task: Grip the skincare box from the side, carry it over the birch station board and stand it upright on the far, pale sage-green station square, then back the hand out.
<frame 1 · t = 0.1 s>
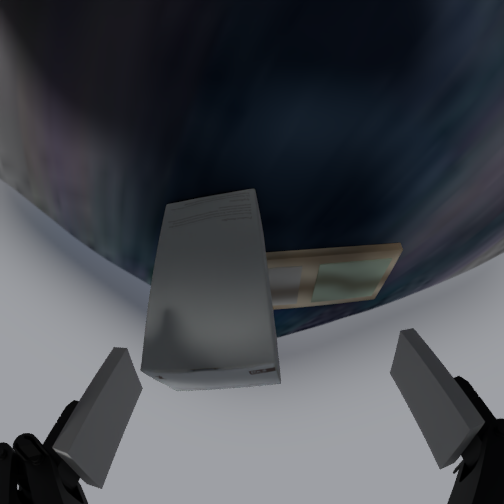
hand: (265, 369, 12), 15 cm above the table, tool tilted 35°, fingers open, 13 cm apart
skincare box: (218, 213, 26), on the table
station board: (305, 278, 35), on the table
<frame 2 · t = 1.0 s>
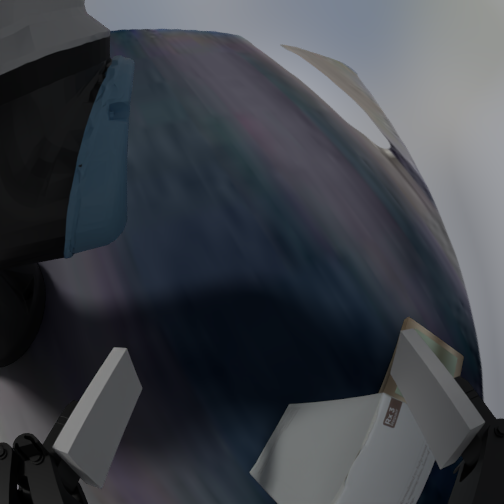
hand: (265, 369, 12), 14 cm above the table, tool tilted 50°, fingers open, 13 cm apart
skincare box: (293, 446, 21), on the table, touching gripper
station board: (412, 415, 24), on the table
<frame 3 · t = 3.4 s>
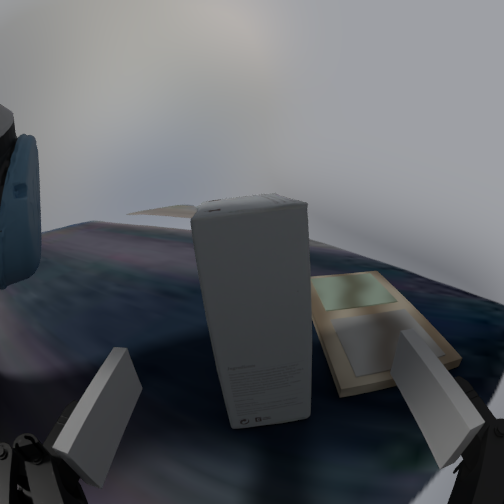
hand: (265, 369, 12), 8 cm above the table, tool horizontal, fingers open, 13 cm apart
skincare box: (261, 390, 21), on the table
station board: (365, 318, 29), on the table
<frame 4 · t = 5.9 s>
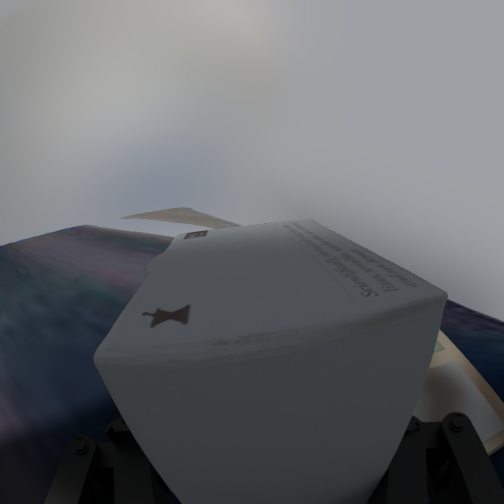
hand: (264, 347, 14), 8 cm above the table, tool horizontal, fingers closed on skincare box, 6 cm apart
skincare box: (273, 497, 11), on the table, touching gripper
station board: (407, 375, 20), on the table
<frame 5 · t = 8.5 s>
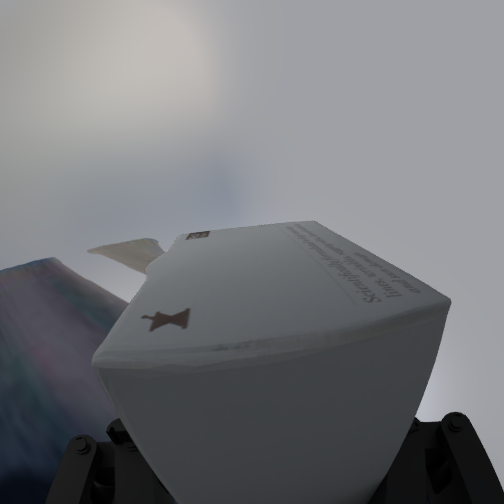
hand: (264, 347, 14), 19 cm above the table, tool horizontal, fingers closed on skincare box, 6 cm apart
skincare box: (272, 498, 11), point 11 cm above the table, touching gripper
when the fingers open (11 cm above the table, at t = 10.4 s): skincare box drops 1 cm, resting on station board.
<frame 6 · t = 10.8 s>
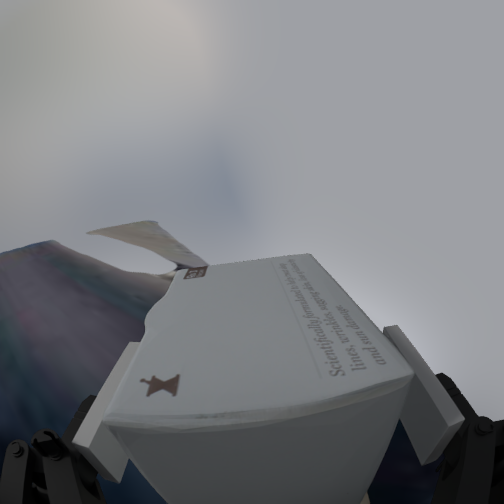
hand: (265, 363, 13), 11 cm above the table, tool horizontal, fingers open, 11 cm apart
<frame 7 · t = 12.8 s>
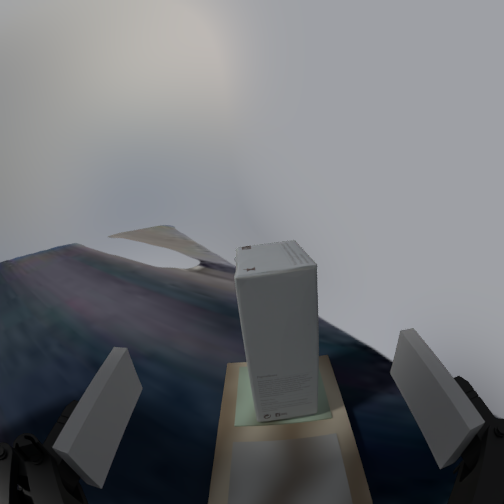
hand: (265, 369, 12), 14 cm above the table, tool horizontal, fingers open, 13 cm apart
skincare box: (280, 392, 26), point 1 cm above the table, touching station board
station board: (284, 438, 21), on the table
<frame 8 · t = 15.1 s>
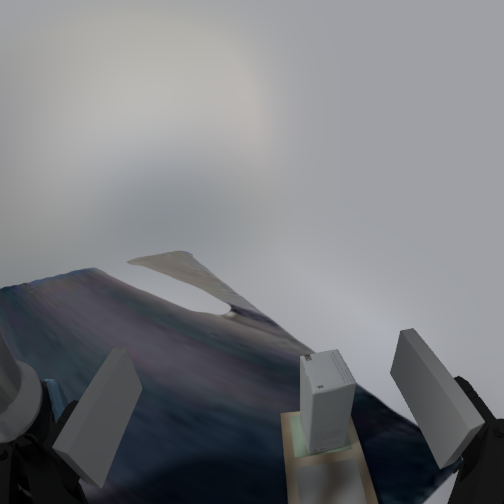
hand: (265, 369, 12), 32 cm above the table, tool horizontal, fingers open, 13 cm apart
skincare box: (319, 433, 37), point 1 cm above the table, touching station board
station board: (324, 461, 33), on the table
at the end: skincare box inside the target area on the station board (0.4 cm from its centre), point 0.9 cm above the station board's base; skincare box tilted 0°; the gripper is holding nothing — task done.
